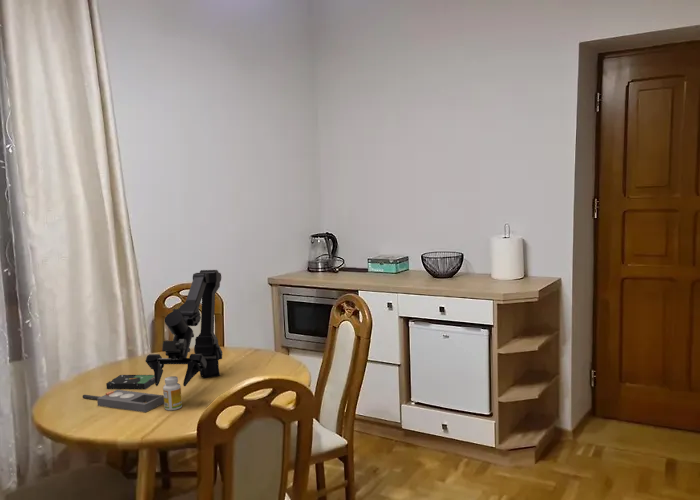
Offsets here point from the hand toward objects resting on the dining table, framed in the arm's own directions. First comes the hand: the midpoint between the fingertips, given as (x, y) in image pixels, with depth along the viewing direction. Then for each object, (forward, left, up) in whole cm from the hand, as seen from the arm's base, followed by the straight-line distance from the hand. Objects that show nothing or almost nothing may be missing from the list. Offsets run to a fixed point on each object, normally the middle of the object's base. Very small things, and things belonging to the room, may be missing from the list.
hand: (170, 385), depth 200 cm
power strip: (+17, -13, -8) cm, 23 cm away
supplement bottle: (0, -1, -8) cm, 8 cm away
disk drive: (+14, -32, -8) cm, 36 cm away
